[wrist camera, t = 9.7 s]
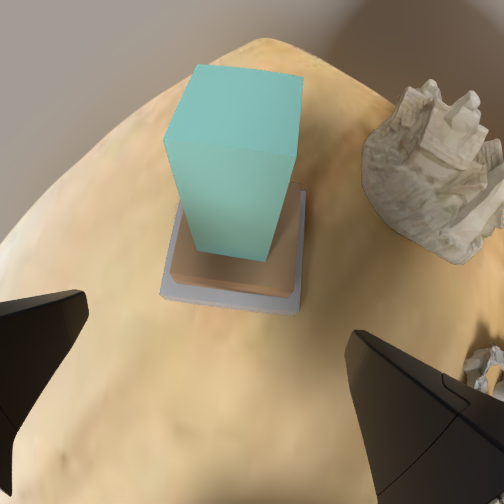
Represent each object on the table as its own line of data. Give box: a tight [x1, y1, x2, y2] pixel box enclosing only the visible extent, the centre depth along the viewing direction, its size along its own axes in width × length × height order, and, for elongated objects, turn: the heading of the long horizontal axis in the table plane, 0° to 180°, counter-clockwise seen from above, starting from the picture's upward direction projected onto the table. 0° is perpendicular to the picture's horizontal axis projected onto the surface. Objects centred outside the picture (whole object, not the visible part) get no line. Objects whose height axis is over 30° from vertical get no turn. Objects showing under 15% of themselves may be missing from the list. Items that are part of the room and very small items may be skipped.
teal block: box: [163, 64, 303, 262], centre depth 16 cm, size 4×4×11 cm
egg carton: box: [463, 343, 504, 402], centre depth 19 cm, size 11×8×4 cm
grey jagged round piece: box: [361, 79, 504, 264], centre depth 22 cm, size 16×16×15 cm
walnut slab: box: [169, 182, 301, 298], centre depth 22 cm, size 8×8×2 cm
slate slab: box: [159, 190, 306, 316], centre depth 24 cm, size 10×10×2 cm
